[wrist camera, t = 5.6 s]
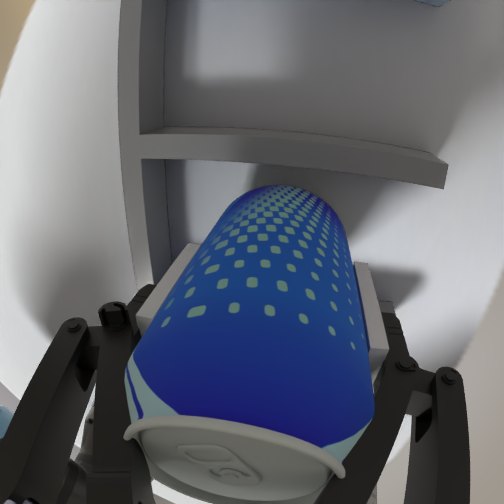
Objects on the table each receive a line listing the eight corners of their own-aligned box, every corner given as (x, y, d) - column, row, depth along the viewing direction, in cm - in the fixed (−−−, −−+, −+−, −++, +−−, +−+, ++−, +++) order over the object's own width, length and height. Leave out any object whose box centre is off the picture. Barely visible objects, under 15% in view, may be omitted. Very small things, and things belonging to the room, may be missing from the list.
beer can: (362, 199, 19) (444, 436, 5) (322, 305, 23) (315, 525, 9) (231, 165, 20) (64, 346, 6) (212, 276, 24) (115, 476, 10)
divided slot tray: (158, 287, 27) (133, 323, 23) (150, -31, 15) (113, -51, 10) (387, 316, 25) (396, 360, 20) (437, -17, 12) (467, -39, 8)
